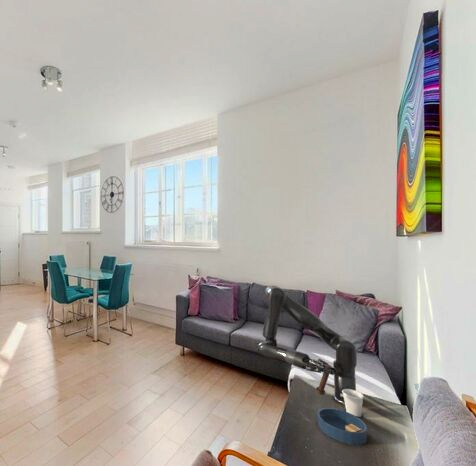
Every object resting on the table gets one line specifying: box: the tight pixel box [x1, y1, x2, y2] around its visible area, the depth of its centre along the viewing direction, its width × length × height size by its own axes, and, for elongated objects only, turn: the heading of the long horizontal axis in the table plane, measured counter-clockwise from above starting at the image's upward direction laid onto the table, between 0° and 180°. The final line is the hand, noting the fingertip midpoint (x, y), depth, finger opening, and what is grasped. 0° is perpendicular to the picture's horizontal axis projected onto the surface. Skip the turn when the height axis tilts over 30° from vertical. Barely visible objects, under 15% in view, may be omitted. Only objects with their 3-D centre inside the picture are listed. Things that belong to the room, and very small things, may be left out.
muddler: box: [315, 363, 333, 396], centre depth 133 cm, size 4×4×15 cm
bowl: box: [317, 407, 368, 446], centre depth 125 cm, size 17×17×6 cm
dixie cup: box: [342, 389, 365, 418], centre depth 138 cm, size 8×8×10 cm
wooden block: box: [345, 424, 362, 432], centre depth 121 cm, size 4×4×4 cm
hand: (335, 372), depth 130 cm, fingers closed on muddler, 2 cm apart
